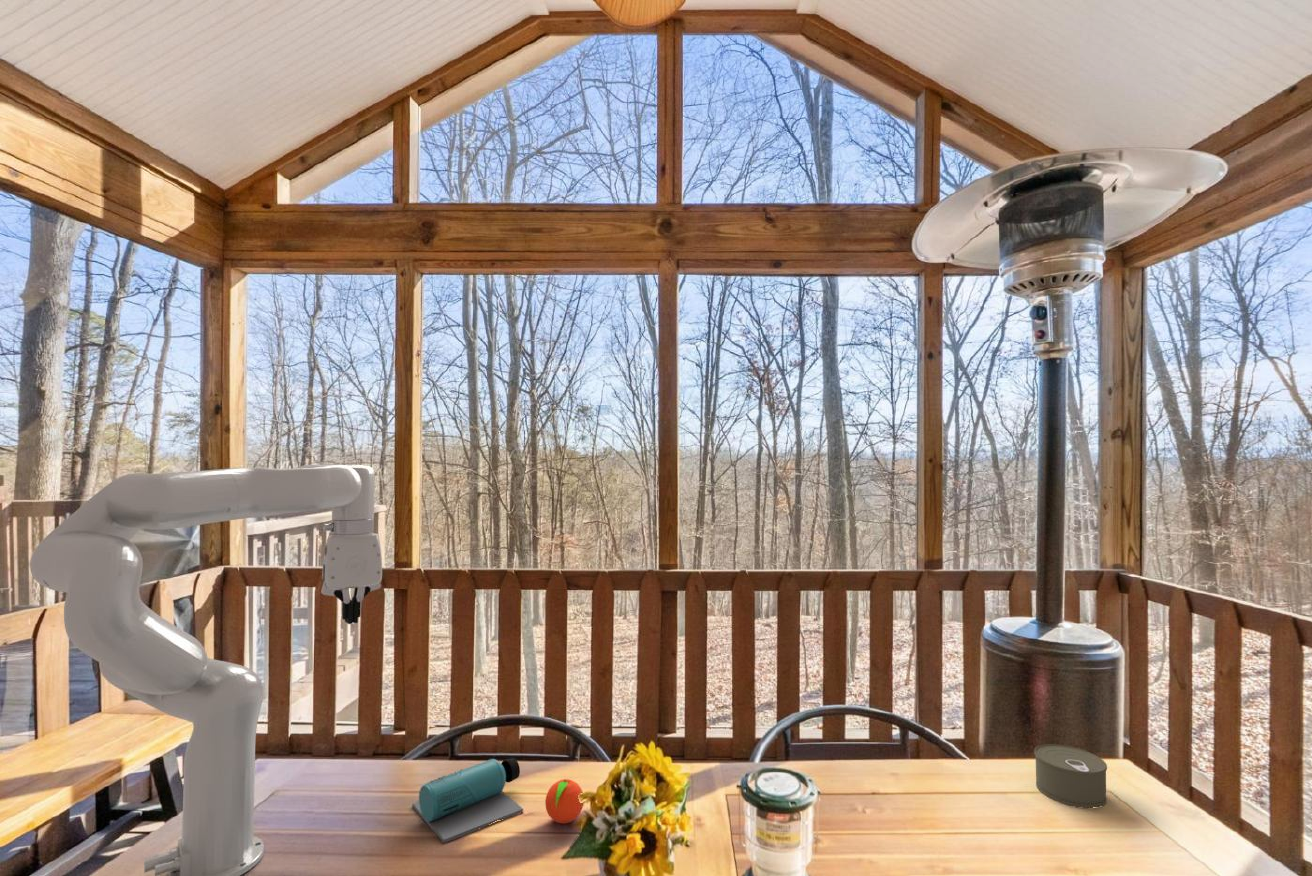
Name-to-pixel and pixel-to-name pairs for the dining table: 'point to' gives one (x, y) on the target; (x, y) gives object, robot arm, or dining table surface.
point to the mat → (472, 816)
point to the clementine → (564, 801)
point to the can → (1070, 775)
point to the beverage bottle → (465, 787)
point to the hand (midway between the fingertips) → (351, 621)
